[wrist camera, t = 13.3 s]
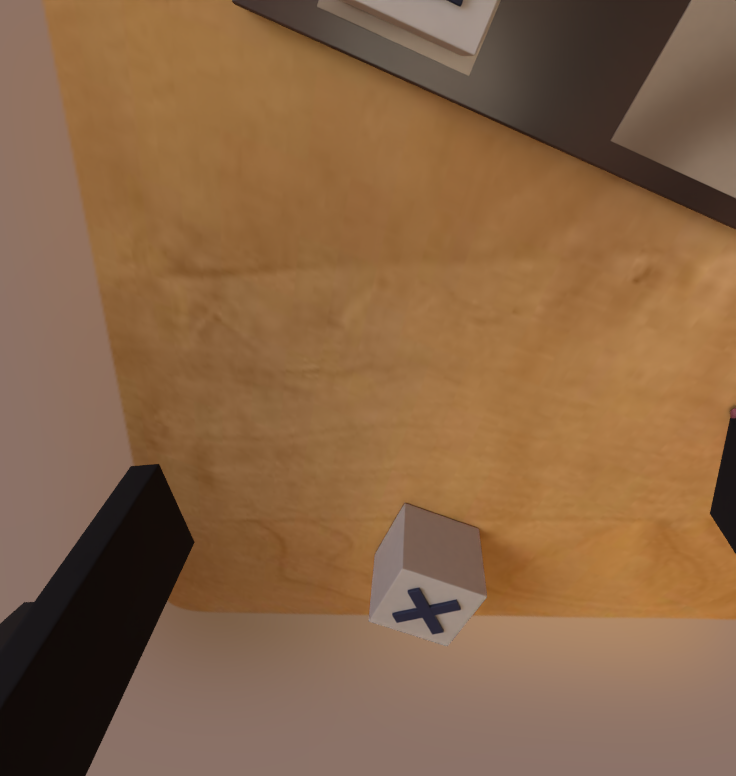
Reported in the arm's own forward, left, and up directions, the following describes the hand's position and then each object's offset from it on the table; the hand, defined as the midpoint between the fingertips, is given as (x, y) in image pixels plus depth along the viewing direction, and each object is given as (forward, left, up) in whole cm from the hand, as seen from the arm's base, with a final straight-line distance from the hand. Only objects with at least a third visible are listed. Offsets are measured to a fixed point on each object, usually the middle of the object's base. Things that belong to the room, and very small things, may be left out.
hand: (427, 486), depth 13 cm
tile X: (+7, -16, -15) cm, 23 cm away
